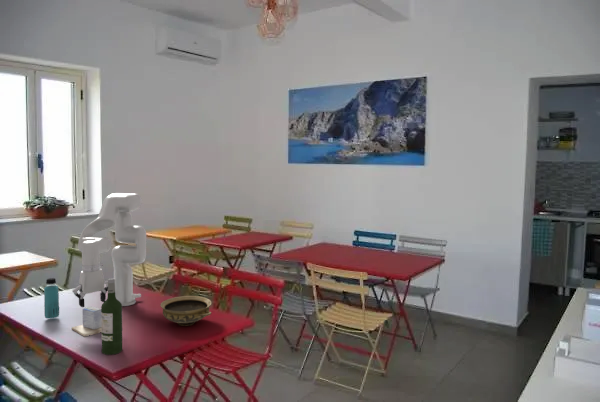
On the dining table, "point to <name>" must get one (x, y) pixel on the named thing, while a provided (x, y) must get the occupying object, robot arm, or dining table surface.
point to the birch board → (86, 330)
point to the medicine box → (92, 318)
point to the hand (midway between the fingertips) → (92, 304)
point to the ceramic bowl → (186, 309)
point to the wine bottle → (111, 322)
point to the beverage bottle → (51, 299)
